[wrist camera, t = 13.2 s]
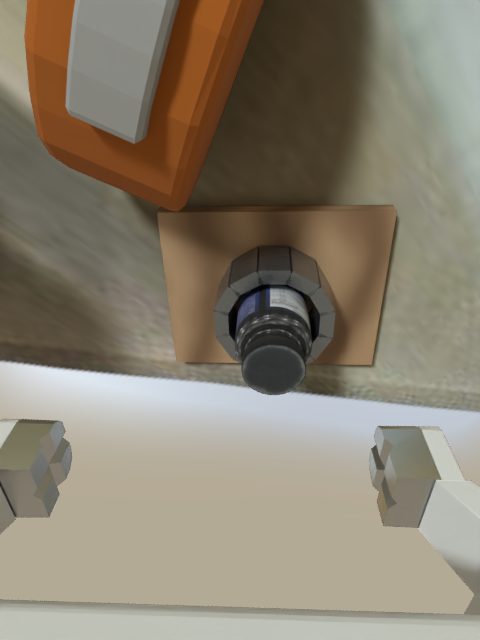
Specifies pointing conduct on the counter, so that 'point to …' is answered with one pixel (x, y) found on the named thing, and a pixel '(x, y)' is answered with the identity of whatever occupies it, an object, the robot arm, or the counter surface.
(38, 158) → the counter surface
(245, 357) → the pill bottle
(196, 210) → the collar base board
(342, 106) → the counter surface
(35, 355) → the counter surface
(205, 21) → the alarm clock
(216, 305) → the rosette collar
